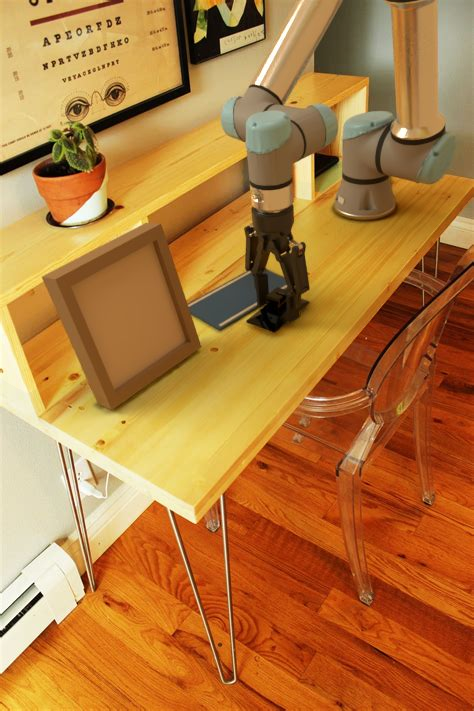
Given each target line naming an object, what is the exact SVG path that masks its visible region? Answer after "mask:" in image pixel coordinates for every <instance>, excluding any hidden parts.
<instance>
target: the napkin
mask: <svg viewBox="0 0 474 711" xmlns="http://www.w3.org/2000/svg"><path fill="white" fill-rule="evenodd" d="M266 270H267V271H265V272H263V274H264V273H266V274H268V287H269V293H270V292H271V291H273V290H274V289H275V288H276V287H278V288H281V289H284V290H287V291H289V290H288V287H287V284H286V281H285V278H284V276H281V275H279V274H277V273H275V272H273V271H271V270H268V269H266ZM187 304H188V307H189V310H190V313H191V316H194V317H195V318H197V319H199V320H201V321H202V322H204V323H206V324H207V325H209V326H211V327H213V328H214V329H216V330H218V331H222V330H224V329H225V328H226V327H229V326H230V325H232V324H234V323H235V322H237V321H238V320H240V319H242V318H243V317H245V316H246V315H249V314H250V313H251V312H253V311H255V310H256V309H258V308H259V307H258V306H257V294H256V289H255V287H254V277H253V276H252V272H250V271H245V272H243V273H241V274H239V275H238V276H235V277H234V278H232V279H230V280H229V281H227V282H225V283H223V284H221V285H220V286H217V287H216V288H214V289H212V290H211V291H208V292H207V293H205V294H203V295H200V297H197V298H196V299H194V300H193V301H190V302H189V303H187Z"/></svg>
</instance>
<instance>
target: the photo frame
mask: <svg viewBox="0 0 474 711" xmlns="http://www.w3.org/2000/svg"><path fill="white" fill-rule="evenodd" d="M167 240H168V239H167V237H166V234H165V231H164V229H163V226H162V223H157V222H145V223H143V224H141V225H139V226H137V227H134V228H133V229H131V230H129V231H127V232H125V233H123V234H122V235H120V236H119V235H118V237H116V238H114V239H112V240H110V241H108V242H106V243H104V244H102V245H100V246H99V247H97V248H94V249H93V250H90V251H88V252H86V253H85V254H83V255H81V256H79V257H77V258H75V259H73V260H71V261H70V262H67V263H65V264H63V265H62V266H60V267H58V268H56V269H54V270H52V271H50V272H48V273H46V274H44V275H42V276H41V279H42V281H43V283H44V285H45V288H46V290H47V292H48V295H49V297H50V299H51V302H52V304H53V306H54V308H55V311H56V313H57V315H58V317H59V320H60V322H61V324H62V327H63V328H64V329H63V330H64V331H65V333H66V335H67V338H68V340H69V343H70V345H71V346H72V349H73V351H74V353H75V355H76V358H77V360H78V363H79V365H80V367H81V369H82V371H83V374H84V376H85V378H86V380H87V383H88V386H89V387H90V390H91V392H92V394H93V396H94V398H95V400H96V403H97V405H99V406H101V407H103V408H105V409H108V410H110V411H113V410H114V409H116V408H117V407H118V406H120V405H121V404H123V403H124V402H126V401H127V400H128V399H130V398H131V397H133V396H134V395H135V394H137V393H138V392H139V391H141V390H143V389H144V388H145V387H147V386H148V385H149V384H151V383H152V382H154V381H155V380H157V379H159V378H160V377H161V376H162V375H163V374H165V373H166V372H168V371H170V370H171V369H172V368H174V367H175V366H176V365H178V364H179V363H181V362H182V361H184V360H185V359H187V358H188V357H189V356H191V355H192V354H193V353H196V351H198V350H199V349H201V348H202V344H201V341H200V337H199V335H198V332H197V328H196V326H195V322H194V319H193V315H192V314H191V313H190V310H189V307H188V304H189V303H188V301H187V298H186V295H185V292H184V288H183V286H182V283H181V280H180V277H179V274H178V271H177V268H176V265H175V262H174V259H173V256H172V253H171V250H170V247H169V242H168V241H167Z"/></svg>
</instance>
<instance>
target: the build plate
mask: <svg viewBox="0 0 474 711" xmlns="http://www.w3.org/2000/svg"><path fill="white" fill-rule="evenodd" d="M288 292H289V290H284V289H281V288H278V287H276V288H275V289H274V290H273V291H271V292H270V293H269V294H268V295H266V296H267V300H266V304H265V305H263V306H262V307H260V309H258V310H257V311H256V312H255V313H254V314H253V315H251V316H250V317H249V318H248V319H246V321H245V322H246V324H248V325H252V326H254V327H256V328H259V329H262V330H264V331H267V332H269V333H272V334H276V333H277V332H279V330H281V329H282V328H283V327H285V325H287V324H288V323H289V322H287V304H286V293H288ZM310 302H311V301H310V300H307V299H304V298H301V306H300V307H299V311H300V312H302V311H303V310H304V309H305V308H306V307H307V306H309V305H310V304H311V303H310Z"/></svg>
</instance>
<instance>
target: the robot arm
mask: <svg viewBox="0 0 474 711" xmlns="http://www.w3.org/2000/svg"><path fill="white" fill-rule="evenodd" d="M343 1H344V0H296V1H295V3H294V5H293V7H292V8H291V10H290V11H289V14H288V16H287V18H286V19H285V21H284V23H283V24H282V26H281V27H280V30H279V31H278V33H277V35H276V37H275V39H274V41H273V43H272V44H271V46H270V48H269V49H268V51H267V53H266V55H265V57H264V59H263V61H262V62H261V63H260V65H259V67H258V70H257V71H256V73H255V74H254V76H253V78H252V80H251V82H250V84H249V85H248V88H246V91H245V92H244V94H243V96H240V95H239V96H232V97H230V98H229V99H228V100H226V101H225V103H224V104H223V107H222V108H221V112H220V126H221V128H222V130H223V132H224V134H225V135H227V136H228V137H230V138H231V139H235V140H238V141H241V142H242V143H244V144H245V149H246V157H247V158H246V159H247V170H248V180H249V194H250V204H251V208H250V209H251V210H250V211H251V222H252V223H250V224H248V225H247V226H245V227H243V230H244V231H243V232H244V236H245V253H244V254H245V255H244V256H245V257H244V269H245V272H247V271H250V272H252V276H253V277H254V287H255V289H256V294H257V306H258V308H263V307H264V306H265V305H266V300H267V296H266V295H268V294H269V287H268V274H266V273H264V274H263V272H265V271H267V270H268V269H267V264H268V261H269V258H270V255H271V254H273V256H274V258H275V261H276V262H277V263H278V264H279V266H280V269H281V272H282V275H283V277H284V278H285V281H286V284H287V287H288V290H287V291H289V292H288V293H286V304H287V322H288V323H289V324H291V323H293V322H295V321H296V320H298V319H299V318H300V316H301V315H300V312H301V311H299V307H300V306H301V299H302V295H303V294H305V293H307V292H308V291H310V290H311V289H310V288H311V286H310V280H309V273H308V267H307V266H308V265H307V261H306V248H307V244H306V242H304V241H301V242H298V241H297V240H295V239H294V235H293V233H292V229H293V226H294V223H295V206H294V204H293V203H294V184H293V183H294V182H293V180H294V179H293V177H294V176H293V175H294V174H293V165H294V164H296V163H298V162H300V161H301V160H304V159H306V158H307V157H310V156H311V155H313V154H315V153H318V152H321V151H323V149H325V147H327V146H329V145H331V144H332V143H333V142H334V141H335V139H336V138H337V136H338V132H339V121H338V117H337V115H336V113H335V112H334V110H333V109H332V108H331V107H330V106H329V105H327V104H324V103H314V104H310V105H307V106H306V107H304V108H301V107H296V106H289V105H286V103H287V102H288V99H289V98H290V96H291V94H292V92H293V90H294V88H295V87H296V85H297V83H298V82H299V79H300V78H301V76H302V74H303V72H304V71H305V69H306V67H307V66H308V63H309V62H310V61H311V58H312V56H313V55H314V53H315V52H316V50H317V47H319V44H320V42H321V40H322V38H323V37H324V35H325V33H326V31H327V30H328V28H329V27H330V24H331V23H332V21H333V19H334V17H335V16H336V13H337V12H338V10H339V8H340V6H341V5H342V3H343ZM383 2H385V3H386V4H388V5H389V6H390V17H391V18H390V19H391V35H392V38H391V39H392V55H393V71H394V90H395V91H394V92H395V108H396V118H395V117H394V113H392V112H390V111H386V110H375V111H367V112H362V113H358V114H355V115H353V116H350V117H349V118H348V119H346V120H345V122H344V124H343V127H342V136H341V141H342V142H341V143H342V146H341V149H342V150H341V154H342V155H341V157H342V158H341V180H340V184H339V186H338V188H337V192H336V195H335V198H334V204H333V205H334V206H333V207H334V211H335V213H336V214H337V215H339V216H341V217H343V218H345V219H348V220H351V221H352V220H353V221H375V220H379V219H383V218H386V217H388V216H390V215H392V213H394V211H395V209H396V197H395V194H394V190H393V186H392V182H391V177H392V178H393V177H394V178H398V179H400V180H405V181H409V182H412V183H413V182H414V183H415V184H422V185H434V184H436V183H438V182H439V181H440V180H441V179H442V178H443V177H444V176H445V174H446V172H447V171H448V170H449V169H450V166H451V164H452V162H453V160H454V156H455V153H456V150H457V143H458V142H457V140H458V139H457V136H456V134H455V133H453V132H451V131H446V118H445V116H444V115H443V114H442V113H440V112H439V30H438V29H439V28H438V27H439V25H438V24H439V21H438V19H439V18H438V16H439V15H438V14H439V13H438V12H439V10H438V9H439V7H438V4H439V3H438V0H383Z"/></svg>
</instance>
